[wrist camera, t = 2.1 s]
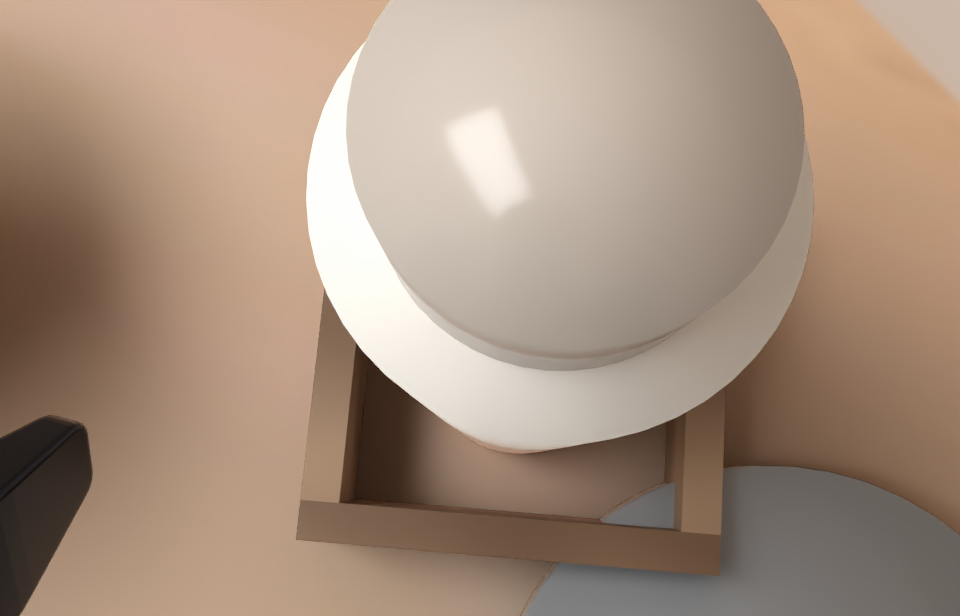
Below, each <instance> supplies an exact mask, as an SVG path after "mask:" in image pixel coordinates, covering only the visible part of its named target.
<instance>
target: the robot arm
mask: <svg viewBox="0 0 960 616" xmlns="http://www.w3.org/2000/svg"><path fill="white" fill-rule="evenodd" d="M91 481H92V463H91V455H90V448H89V440H88V433H87V429H86V428H85V426H84V425H83V424H82V423H80V422H77V421H73V420H70V419H66V418H63V417H59V416H54V415H48V416H45V417H42V418H39V419H37V420H35V421H33V422H31V423H29V424H27V425H25V426H23V427H21V428H19V429H17V430H15V431H13V432H11V433H9V434H7V435H5V436H3V437H1V438H0V616H20V614H21V613H22V611H23V610H24V608H25V606H26V604H27V603H28V601H29V599H30V597H31V596H32V594H33V592H34V590H35V589H36V587H37V585H38V583H39V581H40V579H41V577H42V576H43V574H44V572H45V570H46V568H47V566H48V565H49V563H50V561H51V559H52V557H53V555H54V554H55V552H56V550H57V548H58V546H59V544H60V542H61V541H62V539H63V537H64V535H65V533H66V531H67V530H68V528H69V526H70V524H71V522H72V520H73V518H74V517H75V515H76V513H77V511H78V509H79V507H80V506H81V504H82V502H83V500H84V498H85V496H86V494H87V492H88V490H89V488H90V485H91Z"/></svg>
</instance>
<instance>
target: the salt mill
mask: <svg viewBox="0 0 960 616" xmlns="http://www.w3.org/2000/svg"><path fill="white" fill-rule="evenodd" d="M306 205H307V217H308V229H309V236H310V240H311V245H312V249H313V254H314V258H315V262H316V266H317V269H318V271H319V274H320V277H321V279H322V282H323V285H324V287H325V290H326V293H327V295H328V297H329V299H330V301H331V303H332V305H333V306H334V308H335V310H336V312H337V314H338V316H339V318H340V319H341V321H342V323H343V325H344V326H345V328H346V329H347V330H348V332H349V333H350V334H351V336H352V337H353V339H354V340H355V341H356V343H357V344H358V345H359V347H360V348H361V350H362V351H363V352H364V353H365V354H366V355H367V356H368V357H369V358H370V359H371V360H372V361H373V363H374V364H375V365H376V366H377V367H378V368H379V369H380V370H381V371H382V372H383V373H384V374H385V375H386V376H387V377H388V378H390V379H391V380H392V381H393V382H395V383H396V384H397V385H398V386H400V387H401V388H402V389H403V390H405V391H406V392H407V393H408V394H410V395H411V396H412V397H413V398H415V399H416V400H417V401H419V402H420V403H421V404H423V405H424V406H425V407H427V408H428V409H429V410H431V411H432V412H433V413H435V414H436V415H437V416H438V417H440V418H441V419H442V420H444V421H445V422H446V423H448V424H449V425H450V426H452V427H453V428H454V429H456V430H457V431H458V432H460V433H461V434H462V435H464V436H465V437H466V438H468V439H470V440H471V441H473V442H475V443H476V444H479V445H481V446H483V447H486V448H488V449H492V450H495V451H499V452H505V453H511V454H527V453H535V452H542V451H547V450H553V449H559V448H564V447H570V446H575V445H581V444H587V443H592V442H598V441H604V440H609V439H614V438H618V437H622V436H625V435H629V434H633V433H637V432H641V431H645V430H647V429H650V428H652V427H655V426H657V425H660V424H662V423H665V422H667V421H669V420H672V419H674V418H677V417H679V416H680V415H682V414H684V413H686V412H687V411H689V410H691V409H693V408H694V407H696V406H698V405H699V404H701V403H703V402H705V401H706V400H708V399H709V398H710V397H712V396H713V395H714V394H716V393H717V392H718V391H719V390H721V389H722V388H723V387H725V386H726V385H727V384H729V383H730V382H731V381H732V380H734V379H735V378H736V377H737V376H738V374H739V373H740V372H741V371H742V370H743V369H744V368H745V367H746V366H747V365H748V364H749V363H750V362H751V361H752V360H753V359H754V358H755V357H756V356H757V355H758V354H759V352H760V351H761V350H762V348H763V347H764V346H765V344H766V343H767V342H768V340H769V339H770V337H771V336H772V335H773V333H774V332H775V331H776V329H777V328H778V326H779V324H780V322H781V320H782V319H783V317H784V315H785V313H786V311H787V309H788V308H789V306H790V304H791V302H792V300H793V298H794V295H795V292H796V290H797V287H798V285H799V282H800V279H801V277H802V274H803V271H804V268H805V264H806V259H807V255H808V250H809V246H810V242H811V236H812V224H813V213H814V195H813V176H812V169H811V164H810V158H809V153H808V148H807V143H806V140H805V135H804V116H803V106H802V100H801V95H800V90H799V85H798V80H797V77H796V74H795V71H794V68H793V65H792V62H791V59H790V56H789V54H788V51H787V49H786V47H785V45H784V43H783V41H782V39H781V37H780V35H779V33H778V31H777V29H776V27H775V26H774V25H773V23H772V22H771V20H770V19H769V17H768V16H767V14H766V13H765V11H764V10H763V8H762V7H761V5H760V4H759V3H758V2H757V0H390V2H389V3H388V4H387V6H386V7H385V9H384V10H383V12H382V13H381V15H380V16H379V18H378V19H377V21H376V22H375V24H374V25H373V27H372V29H371V31H370V33H369V35H368V38H367V40H366V41H365V43H364V44H363V45H362V46H361V47H360V48H359V50H358V51H357V52H356V53H355V54H354V56H353V57H352V59H351V60H350V62H349V63H348V65H347V66H346V68H345V69H344V71H343V72H342V74H341V75H340V77H339V78H338V80H337V82H336V84H335V86H334V88H333V90H332V92H331V94H330V96H329V98H328V100H327V102H326V104H325V106H324V108H323V111H322V114H321V117H320V120H319V124H318V127H317V130H316V133H315V136H314V139H313V144H312V149H311V155H310V160H309V165H308V175H307V194H306Z"/></svg>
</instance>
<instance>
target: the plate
mask: <svg viewBox="0 0 960 616" xmlns="http://www.w3.org/2000/svg"><path fill="white" fill-rule="evenodd" d="M674 500H675V483H668V482H663V483H661V484H658V485H656V486H653V487H651V488H649V489H646V490H644V491H641V492H640V493H638V494H636V495H634V496H633V497H631V498H629V499H628V500H626V501H624V502H622V503H621V504H619V505H617V506H615V507H614V508H612V509H611V510H609V511H608V512H607V513H605V514H604V515H603V516H602V517H600V518H599V520H601V521H602V522H604V523H611V524H623V525H635V526H647V527H659V528H671V529H673V524H674ZM520 616H960V535H959V534H958V533H956V532H955V531H954V530H952V529H951V528H950V527H948V526H947V525H946V524H944V523H943V522H942V521H941V520H939V519H938V518H937V517H935V516H933V515H932V514H930V513H928V512H926V511H925V510H923V509H921V508H920V507H918V506H916V505H914V504H913V503H911V502H909V501H907V500H906V499H904V498H902V497H900V496H898V495H895V494H893V493H891V492H888V491H886V490H884V489H881V488H879V487H876V486H874V485H872V484H869V483H867V482H864V481H860V480H857V479H853V478H849V477H846V476H842V475H839V474H835V473H832V472H826V471H819V470H813V469H806V468H799V467H787V466H734V467H726V468H723V487H722V517H721V548H720V576H715V575H703V574H691V573H679V572H668V571H656V570H644V569H632V568H621V567H609V566H597V565H585V564H574V563H562V562H554V563H553V565H552V566H551V567H550V569H549V570H548V571H547V573H546V574H545V575H544V577H543V578H542V579H541V580H540V582H539V583H538V585H537V587H536V588H535V590H534V592H533V594H532V596H531V597H530V599H529V601H528V603H527V604H526V606H525V608H524V610H523V611H522V613H521V615H520Z"/></svg>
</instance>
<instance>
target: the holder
mask: <svg viewBox="0 0 960 616" xmlns="http://www.w3.org/2000/svg"><path fill="white" fill-rule="evenodd" d="M368 362H369V357H368V356H367V355H366V354H365V353H364V352H363V351H362V350H361V348H360V347H359V345H358V344H357V343H356V341H355V340H354V339H353V337H352V336H351V334H350V333H349V332H348V330H347V329H346V328H345V326H344V325H343V323H342V321H341V319H340V318H339V316H338V314H337V312H336V310H335V308H334V306H333V305H332V303H331V301H330V299H329V297H328V295H327V293H326V290H325V287H324V296H323V305H322V314H321V323H320V331H319V340H318V349H317V358H316V367H315V376H314V384H313V393H312V402H311V411H310V420H309V429H308V437H307V446H306V455H305V464H304V473H303V482H302V490H301V499H300V508H299V517H298V526H297V535H296V540H304V541H316V542H327V543H339V544H351V545H363V546H374V547H386V548H398V549H410V550H421V551H433V552H445V553H456V554H468V555H480V556H492V557H503V558H515V559H527V560H539V561H550V562H562V563H574V564H585V565H597V566H609V567H621V568H632V569H644V570H656V571H668V572H679V573H691V574H703V575H715V576H720V548H721V517H722V487H723V457H724V427H725V396H726V386H725V387H723V388H722V389H721V390H719V391H718V392H717V393H716V394H714V395H713V396H712V397H710V398H709V399H708V400H706V401H705V402H703V403H701V404H699V405H698V406H696V407H694V408H693V409H691V410H689V411H687V412H686V413H684V414H682V415H680V416H679V417H677V418H674V419H672V420H669V421H667V434H666V457H665V480H664V482H668V483H675V500H674V524H673V529H671V528H659V527H647V526H635V525H623V524H611V523H604V522H602V521H601V520H599V519H591V518H579V517H567V516H555V515H543V514H531V513H519V512H507V511H495V510H483V509H471V508H459V507H447V506H435V505H423V504H411V503H399V502H387V501H376V500H364V499H354V498H355V488H356V478H357V468H358V459H359V449H360V439H361V430H362V420H363V410H364V400H365V391H366V381H367V371H368Z"/></svg>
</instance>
